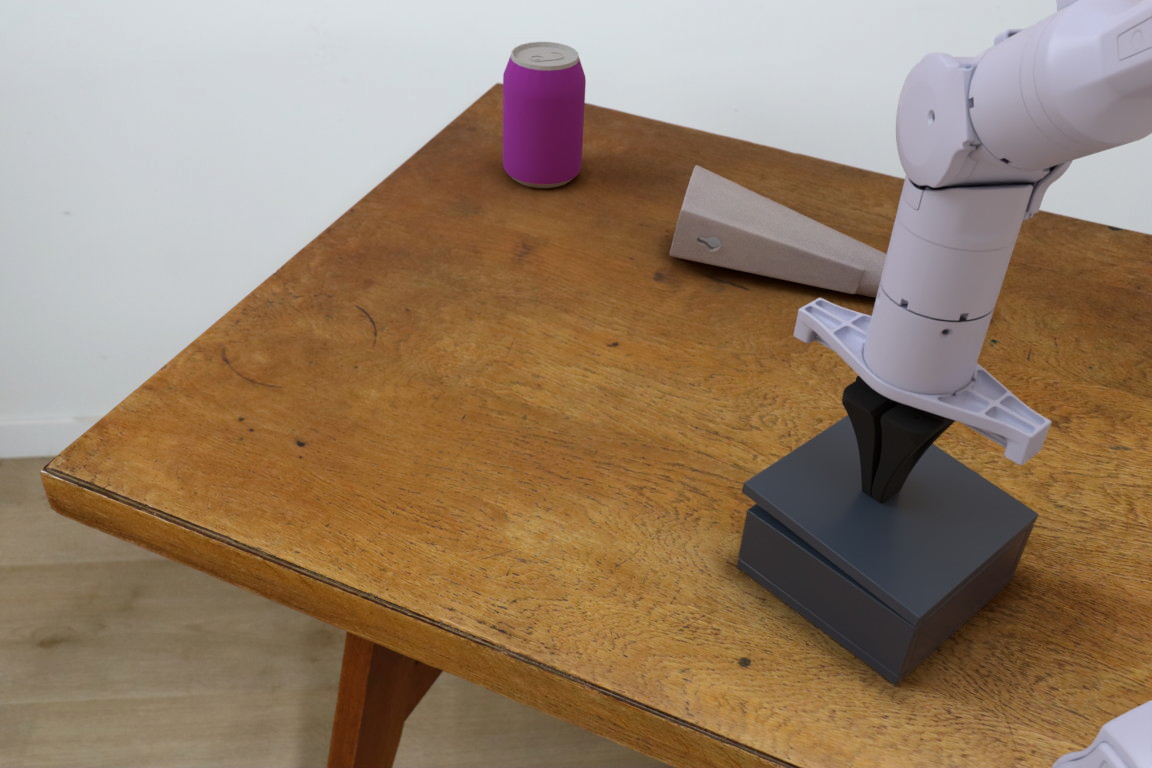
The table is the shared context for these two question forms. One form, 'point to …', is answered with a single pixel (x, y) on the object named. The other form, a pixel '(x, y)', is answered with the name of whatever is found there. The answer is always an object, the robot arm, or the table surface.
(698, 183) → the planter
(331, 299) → the table surface
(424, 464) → the table surface
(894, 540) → the lid
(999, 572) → the box
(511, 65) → the beverage can
